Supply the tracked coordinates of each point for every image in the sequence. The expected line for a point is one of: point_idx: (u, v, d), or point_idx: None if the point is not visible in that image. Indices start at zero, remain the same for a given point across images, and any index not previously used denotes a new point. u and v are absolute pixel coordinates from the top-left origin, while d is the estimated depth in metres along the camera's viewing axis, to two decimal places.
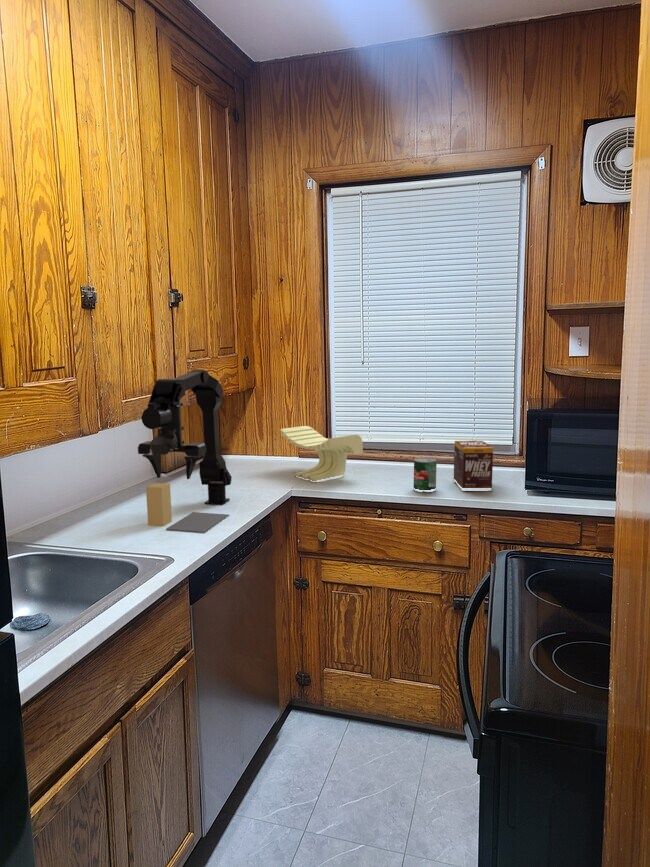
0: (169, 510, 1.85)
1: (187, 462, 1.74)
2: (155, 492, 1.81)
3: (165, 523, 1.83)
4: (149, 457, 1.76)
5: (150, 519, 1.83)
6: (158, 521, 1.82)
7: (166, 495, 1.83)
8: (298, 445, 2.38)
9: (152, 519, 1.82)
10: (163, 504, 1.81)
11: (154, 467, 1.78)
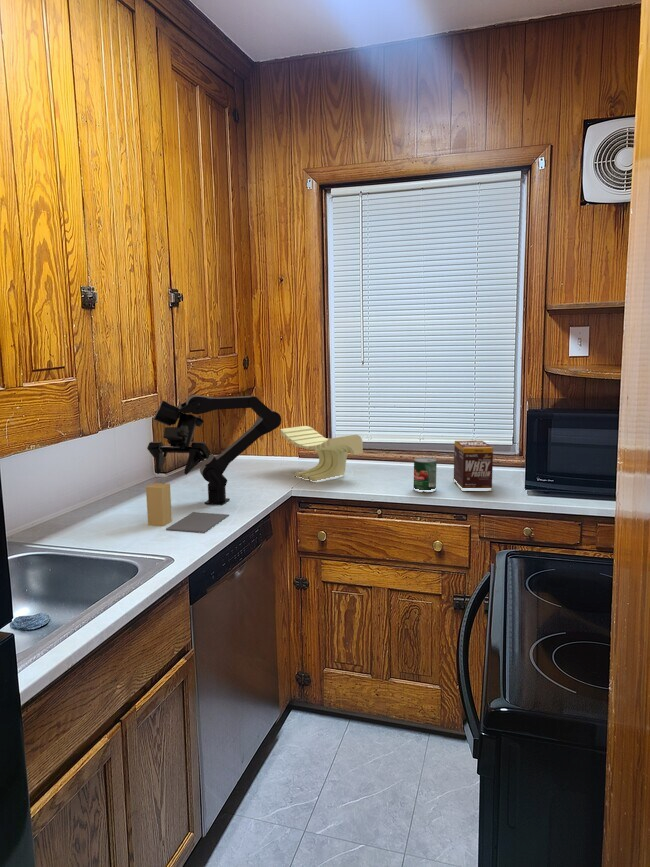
0: (169, 510, 1.85)
1: (190, 456, 1.90)
2: (155, 492, 1.81)
3: (165, 523, 1.83)
4: (156, 451, 1.92)
5: (150, 519, 1.83)
6: (158, 521, 1.82)
7: (166, 495, 1.83)
8: (298, 445, 2.38)
9: (152, 519, 1.82)
10: (163, 504, 1.81)
11: (157, 462, 1.92)
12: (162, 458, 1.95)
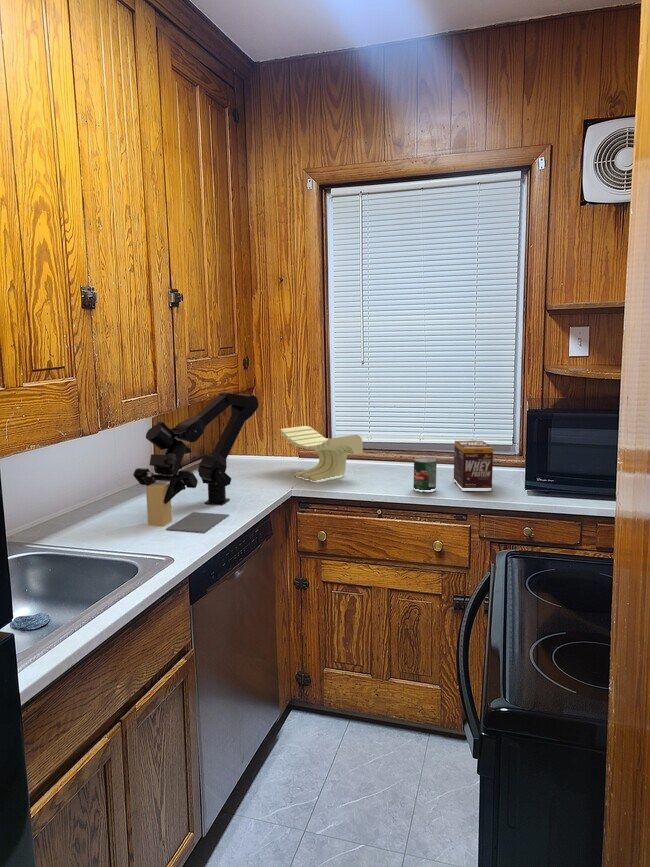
0: (169, 510, 1.85)
1: (170, 485, 1.83)
2: (155, 492, 1.81)
3: (165, 523, 1.83)
4: (148, 478, 1.85)
5: (150, 519, 1.83)
6: (158, 521, 1.82)
7: None
8: (298, 445, 2.38)
9: (152, 518, 1.82)
10: (163, 504, 1.81)
11: None
12: None
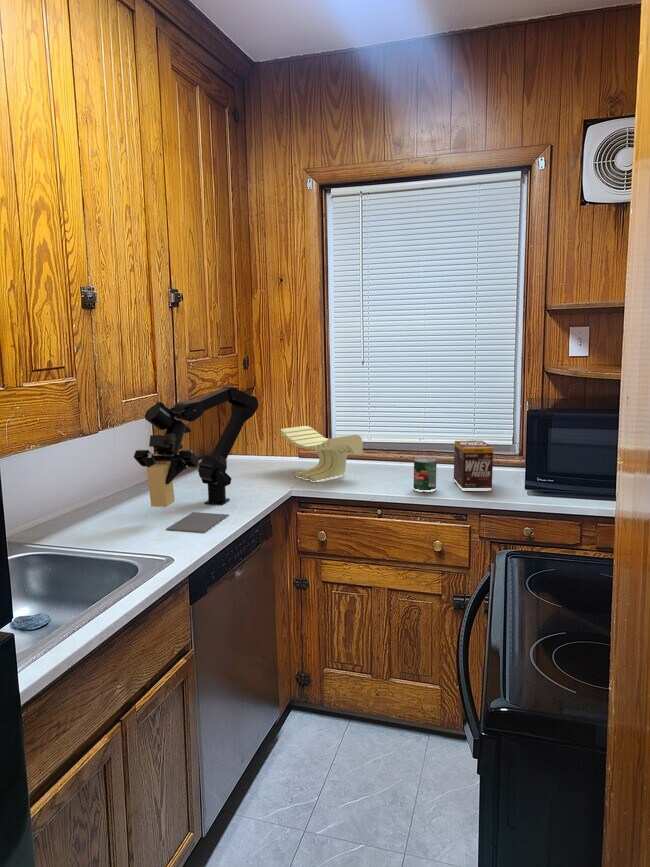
0: (171, 491, 1.84)
1: (171, 465, 1.82)
2: (156, 473, 1.80)
3: (168, 504, 1.82)
4: (148, 460, 1.84)
5: (153, 500, 1.82)
6: (161, 502, 1.81)
7: None
8: (298, 445, 2.38)
9: (155, 500, 1.82)
10: (165, 485, 1.80)
11: None
12: None
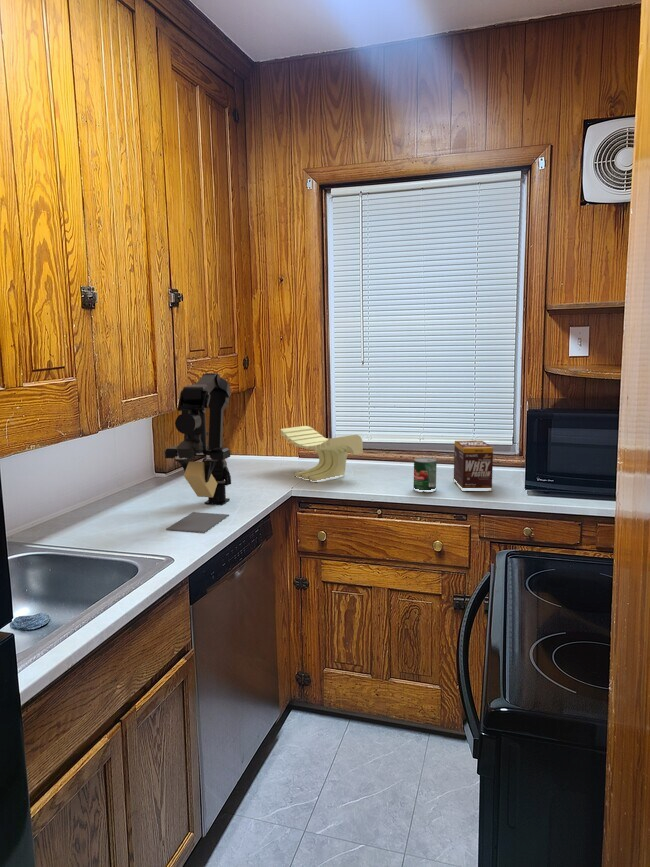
0: (212, 480, 1.88)
1: (206, 466, 1.82)
2: (194, 478, 1.81)
3: (213, 493, 1.89)
4: (181, 461, 1.83)
5: (198, 493, 1.88)
6: (206, 494, 1.88)
7: None
8: (298, 445, 2.38)
9: (200, 493, 1.88)
10: (206, 484, 1.84)
11: None
12: (189, 461, 1.85)
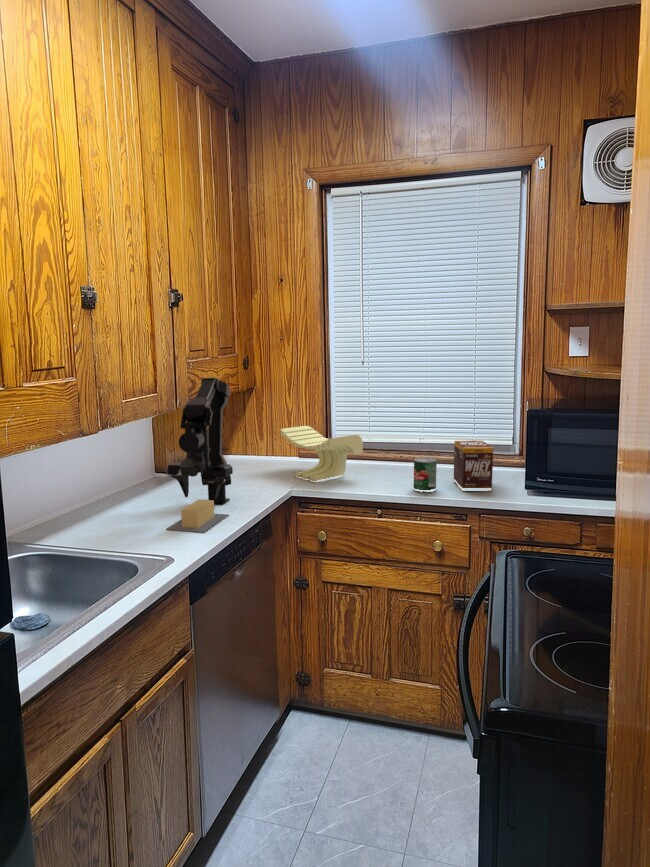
0: (209, 507, 1.86)
1: (214, 483, 1.82)
2: None
3: (213, 513, 1.89)
4: (178, 478, 1.84)
5: None
6: None
7: (201, 516, 1.81)
8: (298, 445, 2.38)
9: None
10: (205, 520, 1.84)
11: (182, 487, 1.86)
12: (185, 477, 1.87)
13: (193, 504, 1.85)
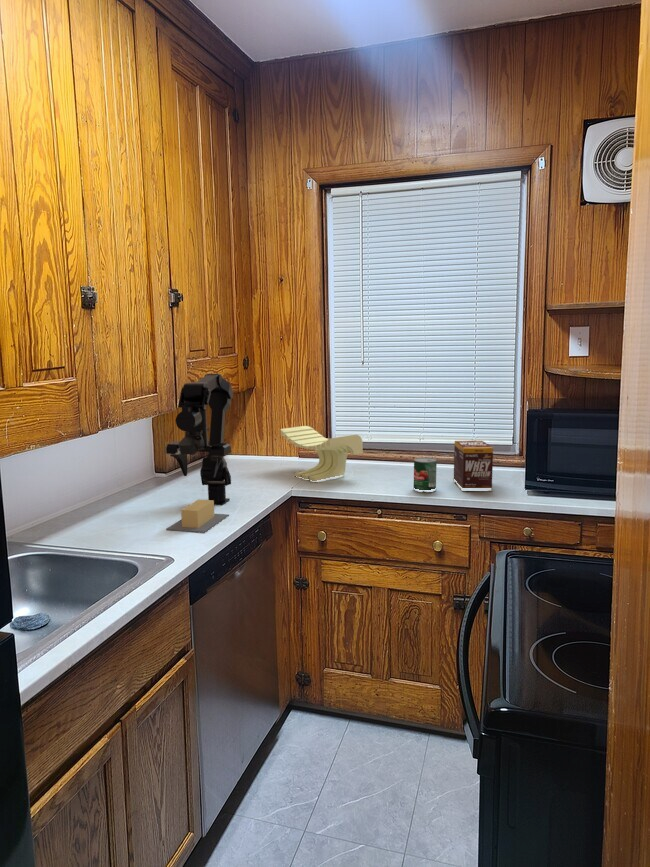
0: (209, 507, 1.86)
1: (213, 461, 1.84)
2: None
3: (213, 513, 1.89)
4: (177, 457, 1.86)
5: None
6: None
7: (201, 516, 1.81)
8: (298, 445, 2.38)
9: None
10: (205, 520, 1.84)
11: (181, 466, 1.88)
12: (184, 456, 1.89)
13: (193, 504, 1.85)
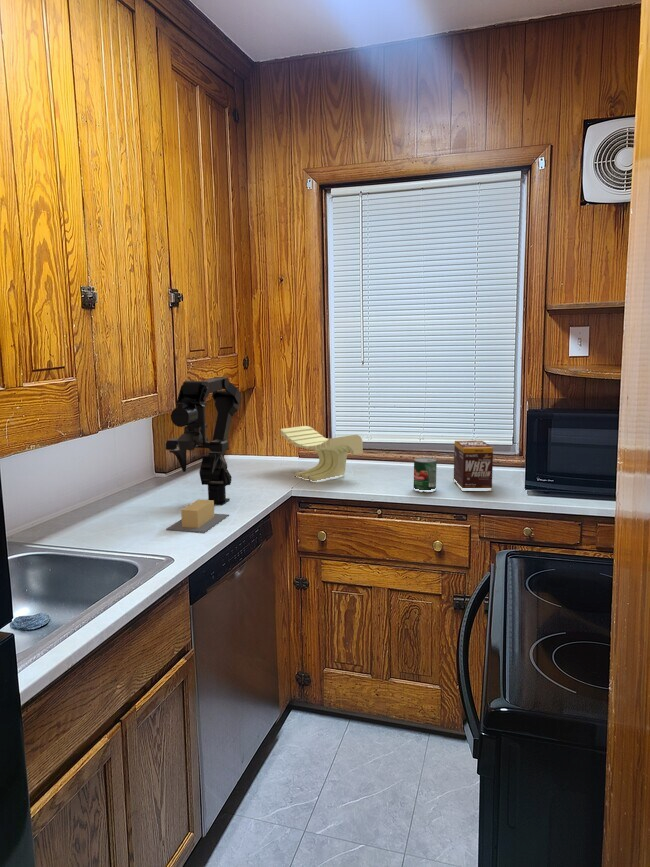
0: (209, 507, 1.86)
1: (211, 457, 1.89)
2: None
3: (213, 513, 1.89)
4: (176, 453, 1.90)
5: None
6: None
7: (201, 516, 1.81)
8: (298, 445, 2.38)
9: None
10: (205, 520, 1.84)
11: (180, 462, 1.92)
12: (183, 452, 1.93)
13: (193, 504, 1.85)
